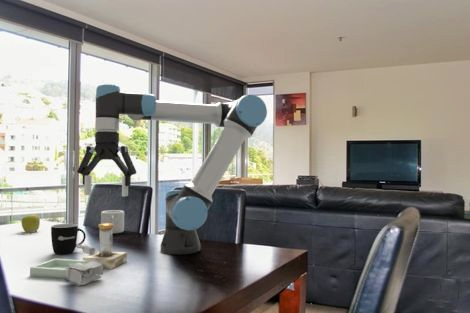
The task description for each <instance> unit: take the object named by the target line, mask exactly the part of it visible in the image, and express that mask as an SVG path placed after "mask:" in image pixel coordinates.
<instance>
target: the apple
mask: <svg viewBox="0 0 470 313" xmlns="http://www.w3.org/2000/svg"><path fill="white" fill-rule="evenodd" d="M21 227H22V229H23V231H24V232H25V233H35V232H37V231H38V230H39V228H40V218H39V216H38V215H37V214H33V213H31V214H29V215H25V216H23V217H22V219H21Z"/></svg>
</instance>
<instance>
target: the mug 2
mask: <svg viewBox="0 0 470 313" xmlns="http://www.w3.org/2000/svg"><path fill="white" fill-rule="evenodd" d="M106 223H110V224H114V228H112V235H113V234H121V233H123V232H124V231H125V211H124V210H121V209H109V210H108V209H107V210H103V211H101V212H100V224H106Z"/></svg>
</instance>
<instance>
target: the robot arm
mask: <svg viewBox="0 0 470 313" xmlns="http://www.w3.org/2000/svg"><path fill="white" fill-rule="evenodd" d="M156 98H157V97H156V95H155V94H153V93H147V92H144V93H143V92H141V93H139V92H137V93H136V92H125V91H121V87H120V86H119V85H117V84H111V83H101V84H99V85H97V87H96V94H95V123H94V127H95V131H96V132H95V133H94V134H95V136H94V137H95V138H94V142H95V146H92V145H87V146H86V148H85V149H86V150H85V154H84V156H83V158H82V160H81V162H80V164H79V167H78V169H77V174H80V175H81V176H82V185H83V186H84V193H83V195H84V196H91V195H92V175H91V173H92V172H93V170H94V169H95V168H96V166H97V165H98V164H99V163H100V161H102V160H105V161H106V160H110V161H111V160H112V161H113V162H114V163H115V165H116V166H117V168H119V170H120V171H121V172H122V174H123V175H122V177H121V197H128V196H129V187H130V186H131V183H132V180H131V177H132V176H133V175H136V174H137V170H136V168H135V166H134V163H133V161H132V159H131V156H130V154H129V148H128V146H127V145H121V146H119V143H120V133H119V131H120V115H126V116H127V117H128V118H129V119H131V120H132V121H141V120H142V121H143V120H144V121H160V122H162V121H163V122H177V123H192V124H193V123H194V124H208V125H209V124H210V125H215V126H216V127H217V128H218V127H219V128H223V129H222V131H221V133H220V134H219V136H218V138H217V139H216V140H215V142H214V144H213V146H212V147H211V149H210V151H209V153H208V154H207V156H206V157H205V159H204V160H203V163H202V164H201V166H200V167H199V169H198V170H197V172H196V174H195V175H194V178H193V179H192V181H191V182H190V183H187V184H186V183H185V184H184V185H183V187H182V188H181V189H174V190H168V191H167V192H166V193H165V227H164V228H165V230H164V234H163V236H162V240H161V242H160V252H161V253H163V254H165V255H166V254H168V255H178V256H179V255H191V254H195V253H198V252H200V251H201V242H200V239H199V235H198V233H197V229H199V228H201V227H202V226H203V224H205V222H206V220H207V218H208V210H209V208H210V207H211V206H212V203H213V194H214V192H215V190H216V188H217V187H218V185H219V183H220V182H221V180H222V179H223V176H224V175H225V173H226V172H227V170H228V169H229V167H230V166H231V163H232V162H233V160H234V158H235V156H236V155H237V153H238V151H239V150H240V148H241V147H242V145H243V143H244V141H245V140H246V139H251V137H253V134H254V132H255V131H256V129H257V128H258V127H259V126H261V125H262V124H263V123H264V121H265V120H266V118H267V115H268V110H267V109H268V108H267V105H266V103H265V101H264V100H263V99H262V98H261V97H259V96H258V95H257V94H245V95H242V96H240V97H239V98H238V99H236V100H233V101H229V102H217V103H216V104H207V103H194V102H181V101H167V100H157V99H156ZM119 152H120V153H121V154H120V155H121V156H122V159H123V161H124V162H123V161H122V159H121V157H120V156H119V154H118V153H119ZM94 153H95V155H94V156H93V154H94ZM91 159H92V160H91Z"/></svg>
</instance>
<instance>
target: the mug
mask: <svg viewBox="0 0 470 313" xmlns="http://www.w3.org/2000/svg"><path fill="white" fill-rule="evenodd" d="M78 226H79V225H78V224H76V223H60V224H59V223H58V224H57V223H56V224H53V225H51V227H50V235H51V237H50V238H51V246H52V250H53V253H54V254H55V255H58V256H66V255H71V254H73V253H74V252H75V250H76V248H77V247H76V245H77V244H78V245H79V246H80V244H81V245H83V243H85V240H86V237H87V236H86V232H85V231H84V230H83V229H81V228H79V227H78ZM79 232H81V233H82V234H83V238H82V239H81V241H80V242H79V243H77V239H78V233H79Z"/></svg>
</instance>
